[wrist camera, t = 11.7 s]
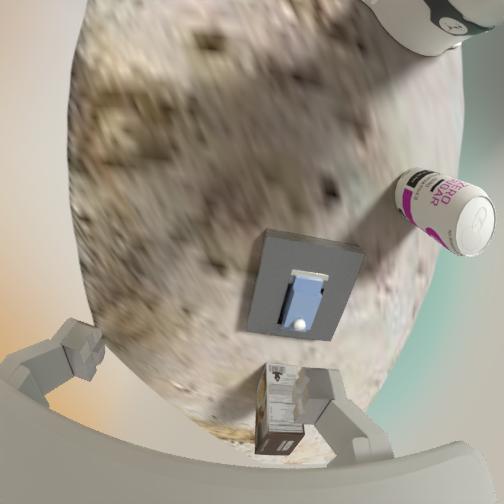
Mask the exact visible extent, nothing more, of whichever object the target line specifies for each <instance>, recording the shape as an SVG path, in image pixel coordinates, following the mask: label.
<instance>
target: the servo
mask: <svg viewBox="0 0 504 504" xmlns="http://www.w3.org/2000/svg"><path fill="white" fill-rule="evenodd" d="M322 285H323V280H320V279H313V278H307V277H301V276H295V279H294V283H293V284H290V283H289V285H288V289H287V292H286V296H285V300H284V303H283V307H282V313H283V321H282V324H281V329H284V330H293V331H301V332H306V330H310V329H311V326H312V323H313V321H314V318H315V315H316V312H317V310H318V307H319V304H320V301H321V298H322V295H321V292H320V291H321V288H322Z"/></svg>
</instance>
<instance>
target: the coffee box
mask: <svg viewBox="0 0 504 504" xmlns="http://www.w3.org/2000/svg"><path fill="white" fill-rule="evenodd" d="M297 379H298V373H297V366H293V365H283V364H274V363H266V364H265V366H264V369H263V372H262V375H261V378H260V380H259V383H258V386H257V389H256V427H255V453H254V454H259V455H290V453H291V452H292V451H293V450H294V448H295V447H296V446H297V445H298V443H299V442H300V441H301V439H302V438H303V437H304V435H305V432H304V424H294V416H293V410H294V408H295V406H296V405H295V404H294V403H293V402H292V390H293V385H294V383H295V381H296V380H297Z"/></svg>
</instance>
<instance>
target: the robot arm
mask: <svg viewBox="0 0 504 504" xmlns="http://www.w3.org/2000/svg"><path fill="white" fill-rule="evenodd" d="M362 1H363V2H364V3H365V4H366V5H367V6H369V7H370V8H371V9H372V10H373V12H374V13H375V15H376V17H377V18H378V20H379V22H380V23H381V24H382V26H383V27H384V28H385V30H386V31H387V32H388V33H389V34H390V35H391V36H392V37H393V38H394V39H395V40H396V41H398V42H399V43H400V44H402V45H403V46H404V47H406V48H408V49H409V50H411V51H413V52H415V53H418V54H421V55H425V56H437V55H440V54H442V53H443V52H444V51H445V50H447V49H448V48H456V47H458V46H460V45H461V42H462V41H464V40H466V39H467V38H469V37H472V36H473V35H477V34H480V33H485V32H488V31H489V30H492V29H493V28H494V27H495V25H498V24H502V23H504V0H362ZM101 337H102V331H101V329H100V328H98V327H95V326H92V325H89V324H87V323H84V322H81V321H78V320H75V319H73V318H70V319H68V320H67V321H66V322H65V323H64V324H63V325H62V327H61V328H60V329H59V330H58V331H57V333H56V334H55V335H54V336H53V338H52V339H51V340H49V339H47V340H45V341H42V342H40V343H37V344H35V345H32V346H30V347H27V348H24V349H22V350H19V351H17V352H14V353H12V354H9V355H7V357H6V358H5V359H4V360H3V361H2V363H1V364H0V504H497V501H496V496H495V491H494V487H493V483H492V479H491V476H490V473H489V469H488V466H487V464H486V461H485V459H484V457H483V456H482V455H481V454H480V453H479V452H478V451H477V450H475V449H474V448H473V447H471V446H470V445H469V444H467V443H465V442H463V441H455V442H452V443H449V444H446V445H443V446H440V447H437V448H434V449H430V450H427V451H423V452H420V453H415V454H412V455H407V456H403V457H399V458H394V455H393V451H392V447H391V444H390V441H389V437H388V434H387V433H386V432H385V431H384V430H383V429H382V428H381V427H380V426H378V425H377V424H376V423H375V422H374V421H373V420H372V419H370V417H369V416H368V415H366V414H365V413H364V412H363V411H362V410H361V409H360V408H359V407H358V406H357V405H356V404H355V403H354V402H352V401H351V400H347V396H346V392H345V388H344V385H343V381H342V378H341V374H340V371H339V370H338V369H322V368H306V367H302V368H301V370H300V372H299V379H297V380H296V381H295V383H294V385H293V390H292V402H293V403H294V404H295V405H296V406H295V408H294V410H293V416H294V424H312V425H314V426H315V427H316V429H317V430H318V431H319V433H320V434H321V435H322V437H323V438H324V439H325V441H326V442H327V443H328V445H329V446H330V447H331V448H332V450H333V451H334V452H335V454H336V455H337V456H336V457H335V458H334V459H333V460H332V461H331V462H330V463H328V465H327V468H308V469H307V468H306V469H281V468H259V467H245V466H236V465H227V464H220V463H212V462H206V461H201V460H195V459H190V458H185V457H180V456H176V455H171V454H167V453H163V452H159V451H156V450H152V449H148V448H145V447H141V446H138V445H135V444H132V443H128V442H126V441H122V440H120V439H117V438H114V437H111V436H109V435H106V434H104V433H101V432H99V431H96V430H94V429H91V428H89V427H86V426H84V425H82V424H80V423H77V422H75V421H73V420H71V419H69V418H67V417H65V416H63V415H60V414H59V413H56V412H55V411H53V410H51V409H49V403H48V401H47V400H46V398H45V397H44V395H45V394H47V393H49V392H50V391H52V390H53V389H55V388H57V387H58V386H60V385H61V384H63V383H65V382H66V381H68V380H69V379H71V378H73V377H74V376H76V377H79V378H81V379H84V380H87V381H91V380H92V378H93V376H94V374H95V373H96V366H97V365H98V364H100V363H101V362H102V360H103V358H104V354H105V344H104V342H103V341H102V340H101Z"/></svg>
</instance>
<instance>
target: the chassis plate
mask: <svg viewBox="0 0 504 504" xmlns="http://www.w3.org/2000/svg"><path fill="white" fill-rule="evenodd" d="M364 256H365V254H364V252H363V251H362V250H361V249H360V247H359V246H356V245H351V244H346V243H341V242H336V241H331V240H326V239H320V238H315V237H310V236H305V235H299V234H294V233H289V232H283V231H278V230H272V229H267V228H266V233H265V238H264V243H263V248H262V253H261V258H260V262H259V267H258V272H257V277H256V282H255V286H254V291H253V296H252V301H251V305H250V310H249V315H248V320H247V331H249V332H256V333H263V334H270V335H278V336H285V337H294V338H303V339H312V340H322V341H331V339H332V337H333V335H334V332H335V330H336V328H337V326H338V323H339V321H340V319H341V316H342V314H343V311H344V309H345V306H346V304H347V301H348V299H349V296H350V294H351V291H352V289H353V286H354V283H355V281H356V278H357V275H358V273H359V270H360V267H361V264H362V262H363V259H364ZM295 276H301V277H307V278H313V279H320V280H323V285H322V288H321V291H320V292H321V295H322V298H321V301H320V304H319V307H318V310H317V312H316V315H315V318H314V321H313V323H312V326H311V329H310V330H306V332H301V331H293V330H284V329H281V324H282V321H283V313H280V311H281V308H282V304H283V301H284V297H285V294H286V290H287V286H288V283H290V284H293V283H294V279H295Z"/></svg>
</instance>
